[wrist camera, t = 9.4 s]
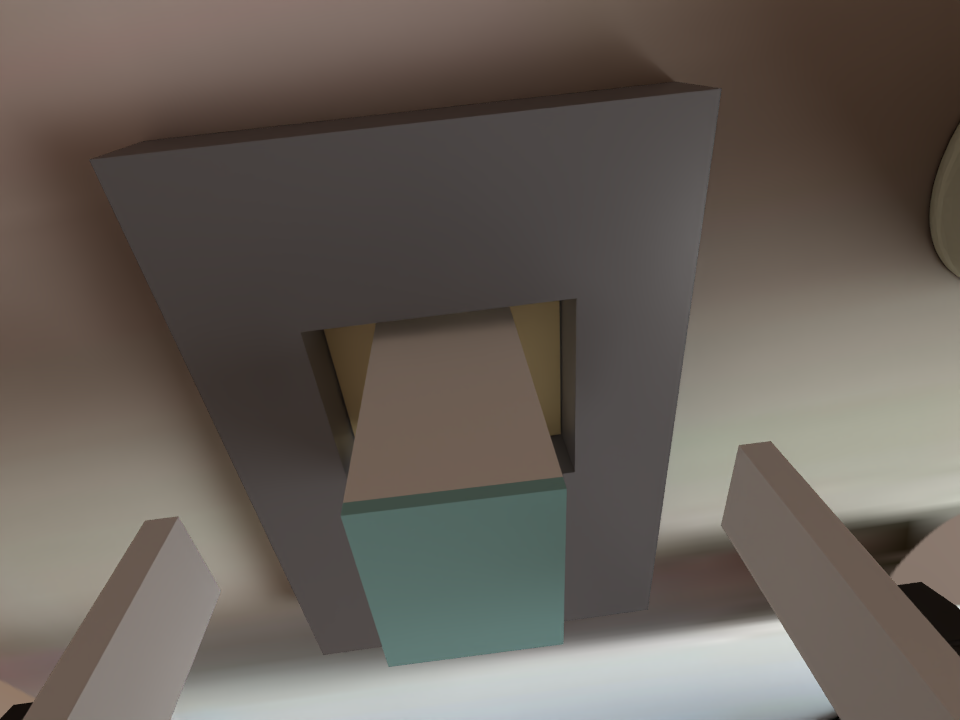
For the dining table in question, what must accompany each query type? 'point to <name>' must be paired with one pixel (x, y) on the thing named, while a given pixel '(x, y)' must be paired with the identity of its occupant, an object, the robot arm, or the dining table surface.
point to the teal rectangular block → (456, 492)
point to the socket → (434, 300)
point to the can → (947, 206)
